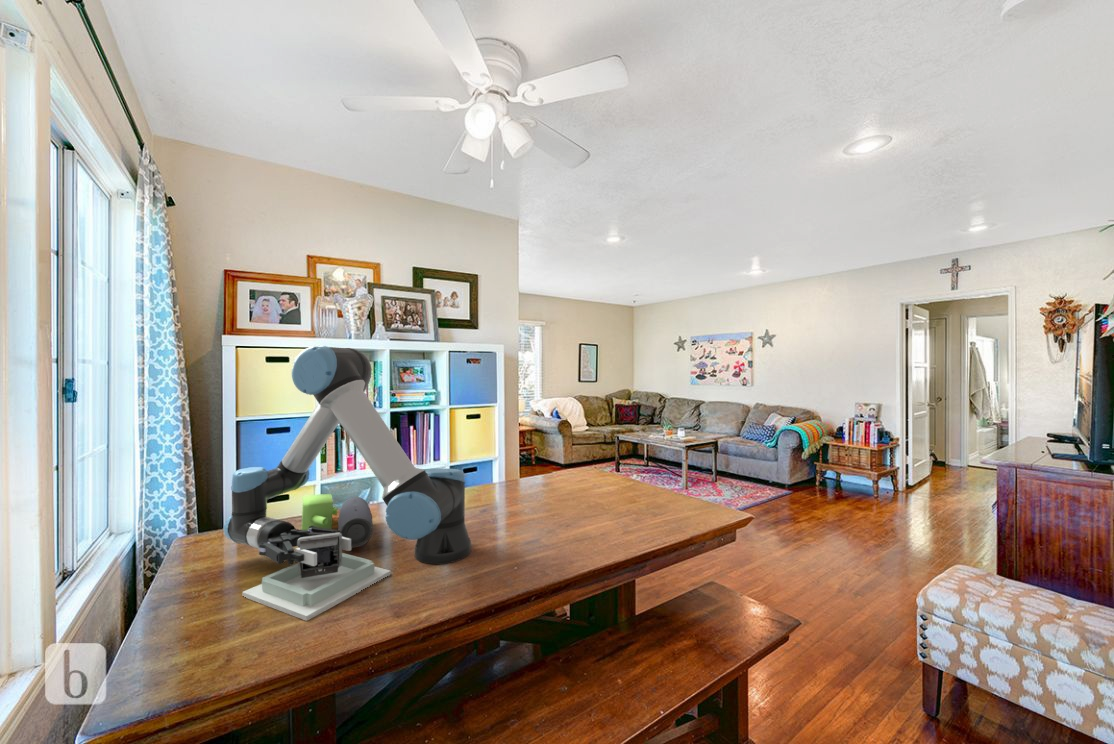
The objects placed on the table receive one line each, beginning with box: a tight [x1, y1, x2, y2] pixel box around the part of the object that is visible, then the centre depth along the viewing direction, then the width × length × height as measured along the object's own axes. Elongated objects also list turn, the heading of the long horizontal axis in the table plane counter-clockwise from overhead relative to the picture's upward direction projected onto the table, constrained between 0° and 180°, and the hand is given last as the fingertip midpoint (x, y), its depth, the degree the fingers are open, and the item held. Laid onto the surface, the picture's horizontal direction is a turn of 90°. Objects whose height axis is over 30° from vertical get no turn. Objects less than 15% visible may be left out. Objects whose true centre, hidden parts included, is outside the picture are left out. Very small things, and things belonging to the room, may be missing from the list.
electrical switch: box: [296, 532, 343, 578], centre depth 103 cm, size 9×5×9 cm, turn 114°
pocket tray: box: [241, 552, 392, 622], centre depth 104 cm, size 22×22×4 cm
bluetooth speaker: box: [337, 496, 374, 548], centre depth 132 cm, size 23×9×10 cm, turn 26°
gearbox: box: [301, 493, 338, 530], centre depth 141 cm, size 18×10×10 cm, turn 29°
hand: (333, 552), depth 101 cm, fingers closed on electrical switch, 8 cm apart
